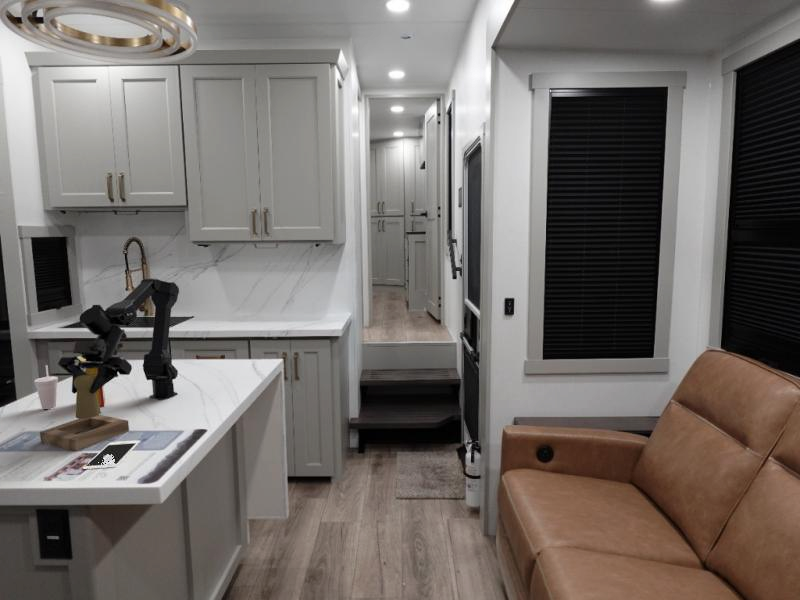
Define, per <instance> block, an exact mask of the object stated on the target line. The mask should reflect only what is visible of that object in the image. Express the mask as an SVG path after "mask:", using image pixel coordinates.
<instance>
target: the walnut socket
mask: <svg viewBox="0 0 800 600" xmlns="http://www.w3.org/2000/svg"><path fill="white" fill-rule="evenodd" d="M89 428H90V429H92V430H89ZM94 428H95V429H94ZM86 429H87V430H88V431H87V430H86ZM83 430H85V432H84V431H83ZM81 431H82V432H83V433H82V432H81ZM78 432H79V433H80V434H78ZM127 432H130V427H129V420H127V419H123V418H122V419H121V418H116V417H113V416H112V417H111V416H108V415H107V416H106V415H102V414H99V415H97V416H95V417H91V418H85V419H79V418H76V419H74V420H73V419H72V420H70V421H67V422H65V423H62V424H58V425H55V426H52V427H51V428H47V429H43V430H40V431H39V436H40V437H39V438H40V443H41V442H42V444H45V443H46V444H45V445H49V444H50V445H49V446H53V445H54V447H57V446H58V447H57V448H61V447H62V449H65V448H66V450H69V449H70V451H73V450H74V451H73V452H79V451H81V449H82V450H84V449H87V448H88V447H91V446H94V445H97V444H100V443H102V442H104V441H107V440H109V439H112V438H115V437H117V436H119V434H120V435H122V434H125V433H127ZM75 433H76V434H75ZM116 435H117V436H116ZM114 436H115V437H114ZM111 437H112V438H111ZM106 439H107V440H106ZM101 441H102V442H101ZM86 447H87V448H86ZM83 448H84V449H83ZM78 450H79V451H78Z"/></svg>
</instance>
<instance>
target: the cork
mask: <svg viewBox="0 0 800 600" xmlns="http://www.w3.org/2000/svg"><path fill="white" fill-rule="evenodd" d="M94 380H95V377H94V376H93V375H82V376H78V377H76V378H75V379H74V386H75V388H76V389H77V392H76V398H75V399H76V401H75V418H76V419H85V418H91V417H95V416H97V415H102V411H101V407H100V406H99V402H98V399H97V395H96V392H95V393H94V394H91V393H90V390H91V387H92V385H93V382H94Z"/></svg>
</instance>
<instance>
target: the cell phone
mask: <svg viewBox="0 0 800 600" xmlns="http://www.w3.org/2000/svg"><path fill="white" fill-rule="evenodd" d="M138 443H139V444H140V443H141V440H135V439H134V440H125V441H124V440H123V441H110V442H108V444H107V445H105V446H104V447H103V448H102V449H101V450H99V452H98V453H97V454H96V455H95V456H94V457H92V460H89V461H88V462H87V463H88V464H87V463H86V464H87V465H86V464H85V465H84V466H82V468H83V469H87V468H89V467H91V468H101V467H102V466H103V465H104V464H103V463H102V462H104V459H103V454H104V455H106V454H109V455H111V454H112V455H113V456H114V458H113V459H115V462H114V463H115V464H116V465H115V466H117V465H118V464H119V463H120V462H121V461H122V460H123V459H124V458H125V459H126V458H127V456H128V455H129V454H130V453H131V452H132V451H133V450H134V449H135V448H136V447H137V446H138V445H139V444H138ZM101 455H102V456H101ZM113 456H112V457H113ZM113 459H112V460H113ZM125 459H124V460H125ZM102 460H103V461H102ZM124 460H123V461H124ZM123 461H122V462H123ZM98 462H99V463H98ZM108 462H109V461H108ZM122 462H121V463H122ZM101 463H102V465H101ZM121 463H120V464H121ZM89 464H90V466H89ZM105 464H106V463H105ZM120 464H119V465H120ZM92 465H93V466H92ZM108 465H109V464H108ZM119 465H118V466H119ZM118 466H117V467H118ZM103 467H105V466H103ZM103 467H102V468H103ZM106 467H107V466H106ZM103 469H104V468H103Z"/></svg>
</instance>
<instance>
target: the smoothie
mask: <svg viewBox="0 0 800 600" xmlns="http://www.w3.org/2000/svg"><path fill="white" fill-rule="evenodd" d="M44 366H45V373H46V376H44V377H41V378H40V377H39V378H37V379H35V380H34V381H33V382H34V383H33V384H34V385H35V386H36V390H37V394H38V398H39V401H40V405H41V409H42V410H43V409H50V410H52V409H51V408H54V407H56V408H57V399H58V398H57V397H58V394H57V393H58V392H57V391H58V381H59V377H58V376H52V375H51V376H50V375H49V367H48V364H46V365H44ZM54 409H55V408H54Z"/></svg>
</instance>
